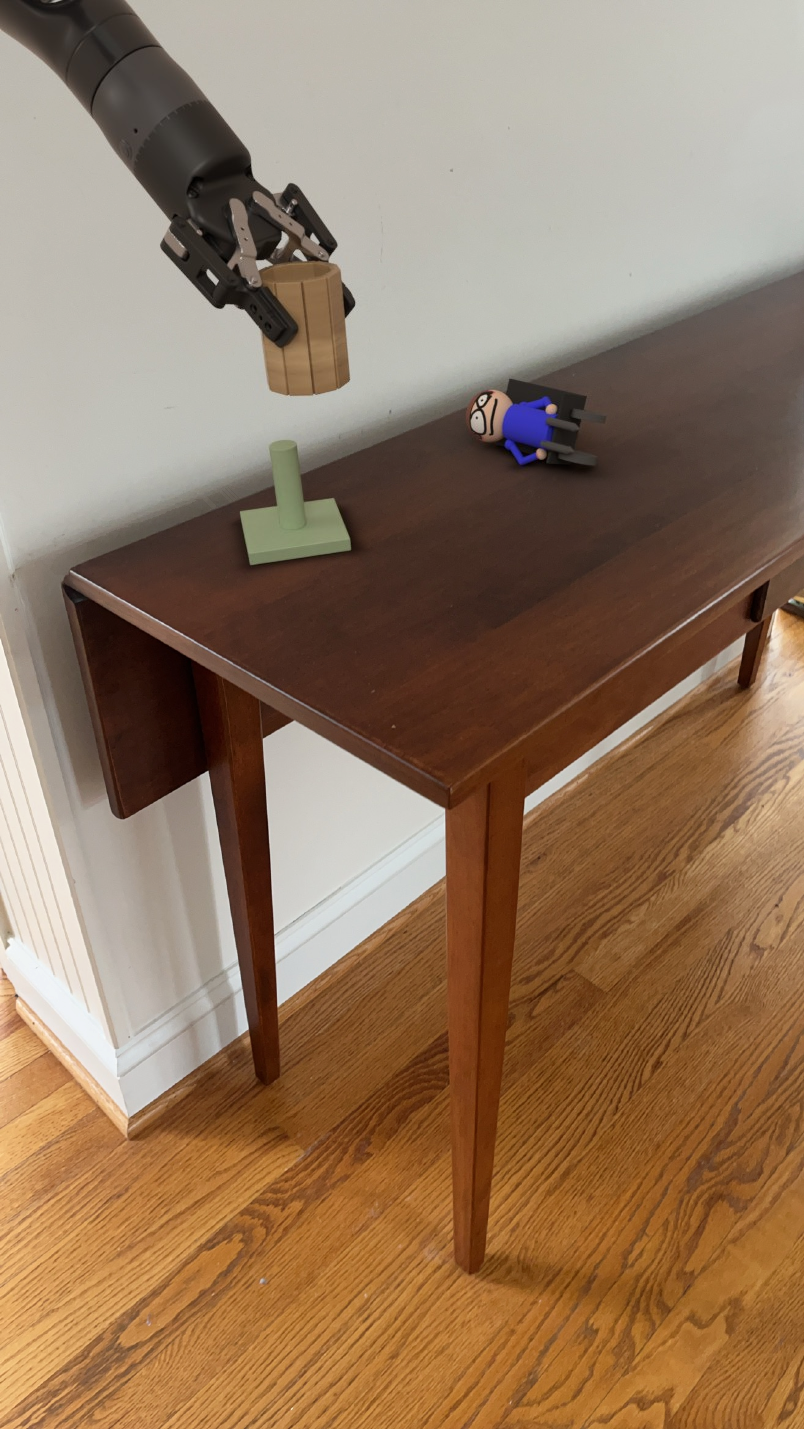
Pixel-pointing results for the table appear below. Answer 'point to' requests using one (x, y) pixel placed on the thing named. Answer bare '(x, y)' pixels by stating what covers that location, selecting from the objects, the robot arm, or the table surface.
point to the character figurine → (532, 422)
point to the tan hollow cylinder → (308, 329)
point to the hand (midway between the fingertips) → (319, 325)
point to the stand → (292, 517)
